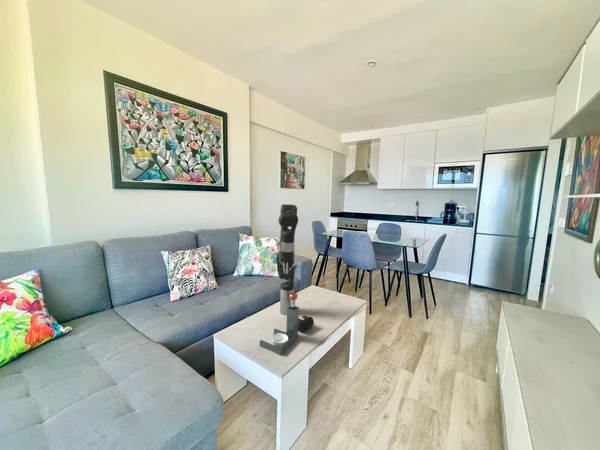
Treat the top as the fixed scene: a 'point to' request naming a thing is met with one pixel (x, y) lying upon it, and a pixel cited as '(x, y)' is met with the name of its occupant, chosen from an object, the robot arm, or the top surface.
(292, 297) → the ram plunger
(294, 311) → the press
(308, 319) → the end cap
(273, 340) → the ramekin
